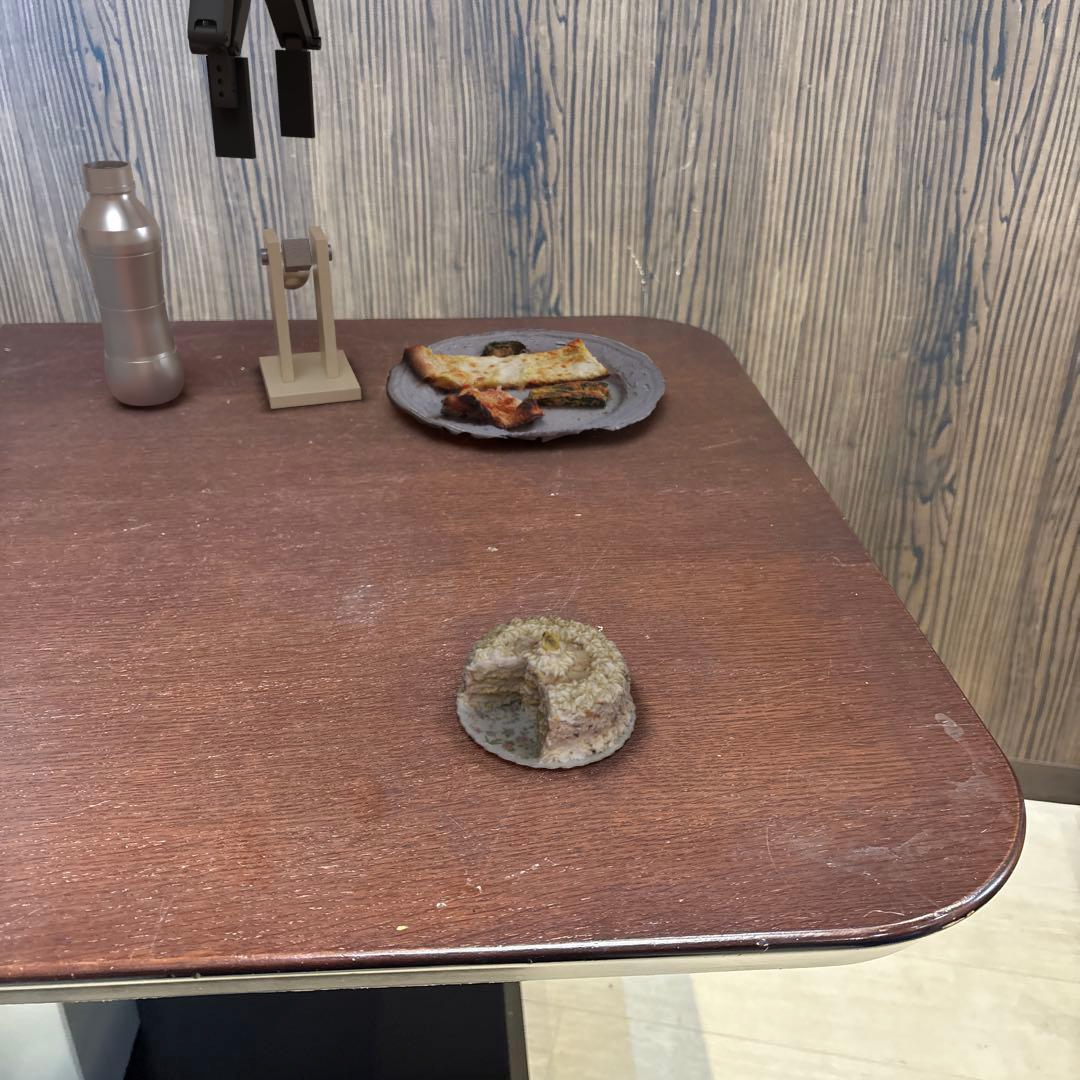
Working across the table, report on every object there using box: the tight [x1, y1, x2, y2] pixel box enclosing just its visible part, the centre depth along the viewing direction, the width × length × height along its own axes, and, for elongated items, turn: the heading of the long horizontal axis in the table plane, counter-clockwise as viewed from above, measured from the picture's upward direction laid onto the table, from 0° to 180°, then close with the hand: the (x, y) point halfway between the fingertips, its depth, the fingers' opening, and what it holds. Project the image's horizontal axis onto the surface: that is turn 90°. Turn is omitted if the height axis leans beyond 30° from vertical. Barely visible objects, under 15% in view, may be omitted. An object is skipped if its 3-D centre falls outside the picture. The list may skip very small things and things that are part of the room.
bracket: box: [258, 225, 362, 410], centre depth 90 cm, size 10×8×14 cm
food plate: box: [385, 327, 666, 443], centre depth 91 cm, size 25×23×4 cm
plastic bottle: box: [76, 160, 185, 407], centre depth 84 cm, size 6×7×20 cm
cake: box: [454, 613, 637, 770], centre depth 54 cm, size 10×10×5 cm
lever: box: [280, 236, 312, 291], centre depth 92 cm, size 11×4×4 cm, turn 19°
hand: (269, 147), depth 78 cm, fingers open, 13 cm apart
